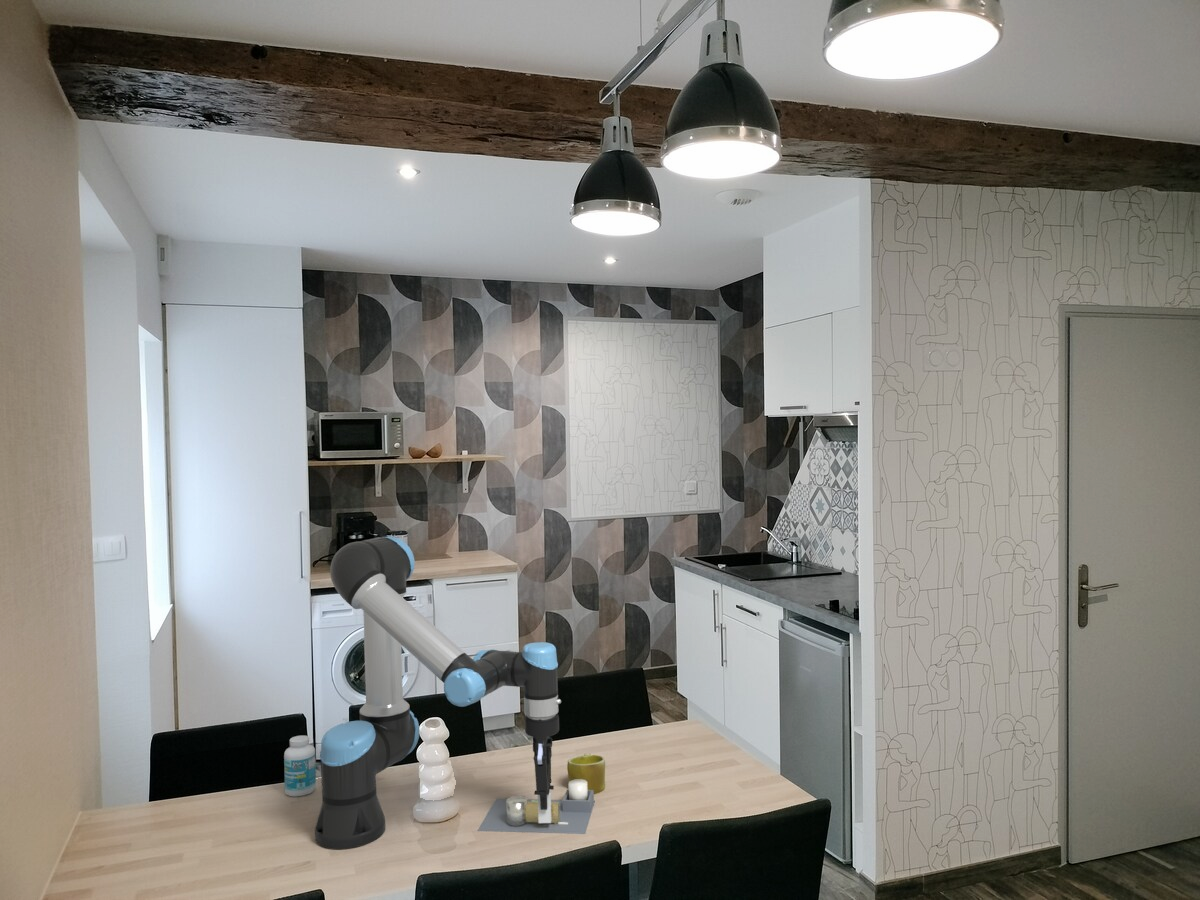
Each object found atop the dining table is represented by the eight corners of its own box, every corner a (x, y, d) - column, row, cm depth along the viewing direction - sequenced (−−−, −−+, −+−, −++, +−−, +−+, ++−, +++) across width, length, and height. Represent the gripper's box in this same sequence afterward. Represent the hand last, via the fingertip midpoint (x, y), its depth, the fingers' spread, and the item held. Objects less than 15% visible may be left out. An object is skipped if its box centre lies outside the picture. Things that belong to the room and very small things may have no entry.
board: (477, 836, 183) (476, 819, 183) (496, 803, 200) (495, 788, 200) (585, 839, 181) (584, 822, 181) (595, 805, 197) (594, 790, 197)
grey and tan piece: (504, 825, 185) (504, 804, 185) (509, 816, 189) (509, 795, 189) (557, 827, 184) (556, 805, 183) (560, 817, 188) (560, 796, 188)
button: (567, 805, 193) (567, 786, 193) (570, 797, 197) (570, 778, 197) (586, 806, 192) (585, 786, 192) (589, 798, 197) (588, 779, 197)
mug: (607, 795, 199) (595, 752, 201) (568, 806, 201) (557, 763, 203) (620, 785, 210) (608, 745, 213) (582, 795, 212) (572, 755, 215)
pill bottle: (278, 797, 208) (277, 743, 208) (294, 785, 215) (293, 732, 215) (306, 798, 206) (305, 744, 206) (321, 786, 214) (320, 733, 214)
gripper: (555, 724, 177) (559, 835, 177) (561, 705, 190) (564, 808, 190) (520, 724, 177) (524, 835, 177) (528, 705, 190) (531, 809, 190)
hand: (545, 821), depth 184 cm, fingers closed
